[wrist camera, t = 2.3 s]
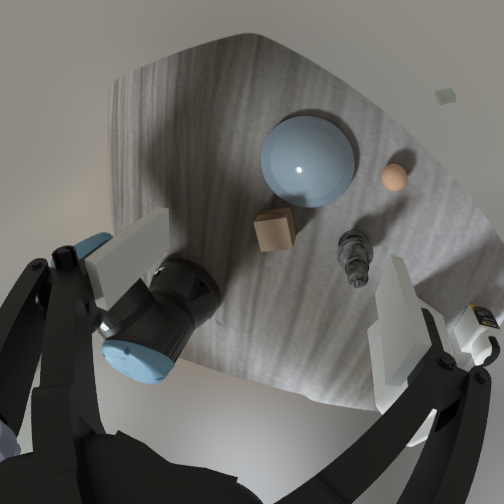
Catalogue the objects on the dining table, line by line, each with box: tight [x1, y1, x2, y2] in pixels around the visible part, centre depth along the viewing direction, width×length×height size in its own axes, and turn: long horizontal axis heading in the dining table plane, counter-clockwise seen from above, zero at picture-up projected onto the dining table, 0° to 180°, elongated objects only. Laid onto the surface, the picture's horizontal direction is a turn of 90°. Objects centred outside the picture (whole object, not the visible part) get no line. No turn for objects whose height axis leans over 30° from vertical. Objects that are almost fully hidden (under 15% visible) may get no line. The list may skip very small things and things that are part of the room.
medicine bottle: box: [454, 304, 501, 367], centre depth 39 cm, size 7×7×12 cm
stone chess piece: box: [337, 230, 374, 288], centre depth 39 cm, size 6×6×12 cm
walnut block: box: [254, 207, 296, 252], centre depth 44 cm, size 5×5×5 cm
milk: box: [367, 297, 454, 447], centre depth 38 cm, size 12×12×26 cm
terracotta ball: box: [381, 164, 407, 191], centre depth 35 cm, size 4×4×4 cm
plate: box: [261, 116, 355, 207], centre depth 39 cm, size 14×14×1 cm
